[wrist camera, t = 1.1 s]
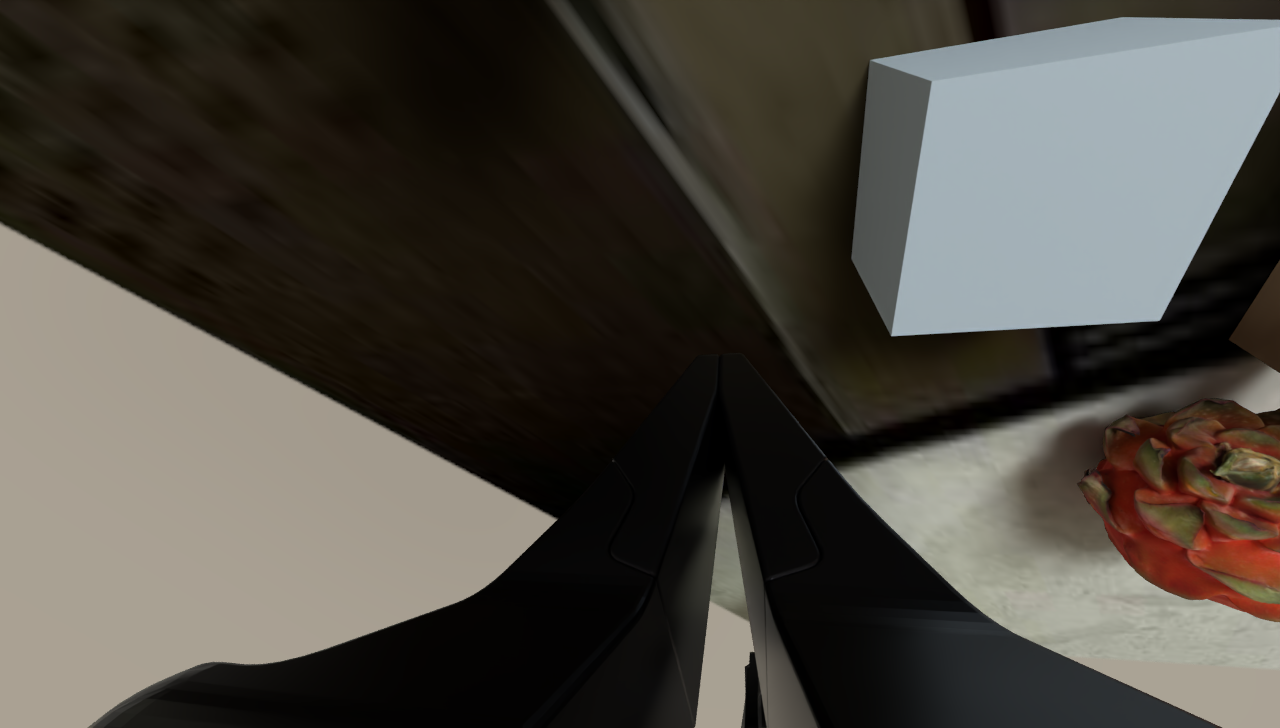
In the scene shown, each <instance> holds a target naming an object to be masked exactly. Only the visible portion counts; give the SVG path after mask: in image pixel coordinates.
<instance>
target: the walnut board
mask: <svg viewBox="0 0 1280 728" xmlns="http://www.w3.org/2000/svg"><path fill="white" fill-rule="evenodd" d="M1229 340H1230V341H1231V342H1233V343H1235V344H1236V345H1238V346H1239V347H1241V348H1242V349H1244V350H1245V351H1247V352H1248V353H1250V354H1251V355H1253V356H1255V357H1256V358H1258V359H1259V360H1261V361H1262V362H1264V363H1265V364H1267V365H1268V366H1270V367H1271V368H1273V369H1274V370H1276V371H1278V372H1279V373H1280V260H1279V262H1278V264H1277V265H1276V267H1275V268H1274V270H1273V271H1272V273H1271V274H1270V276H1269V278H1268V279H1267V281H1266V282H1265V284H1264V285H1263V287H1262V289H1261V290H1260V292H1259V293H1258V295H1257V296H1256V298H1255V299H1254V301H1253V303H1252V304H1251V306H1250V307H1249V309H1248V310H1247V312H1246V314H1245V315H1244V317H1243V318H1242V320H1241V321H1240V323H1239V325H1238V326H1237V328H1236V329H1235V331H1234V332H1233V334H1232V335H1231V337H1230V339H1229Z"/></svg>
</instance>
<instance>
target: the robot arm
mask: <svg viewBox="0 0 1280 728" xmlns="http://www.w3.org/2000/svg"><path fill="white" fill-rule="evenodd" d="M724 465H725V469H726V477H727V484H728V490H729V496H730V502H731V509H732V515H733V521H734V527H735V533H736V540H737V546H738V552H739V558H740V564H741V571H742V577H743V583H744V589H745V595H746V602H747V608H748V614H749V620H750V626H751V633H752V638H753V645H754V651H755V652H750V661H749V662H750V663H749V665H747V666H745V687H746V694H745V695H746V696H745V706H744V713H743V719H742V726H741V728H1222V727H1220V726H1217V725H1215V724H1213V723H1211V722H1209V721H1206V720H1204V719H1202V718H1200V717H1197V716H1195V715H1193V714H1191V713H1189V712H1186V711H1184V710H1182V709H1180V708H1178V707H1175V706H1173V705H1171V704H1169V703H1167V702H1164V701H1162V700H1160V699H1158V698H1155V697H1153V696H1151V695H1149V694H1147V693H1144V692H1142V691H1140V690H1138V689H1136V688H1133V687H1131V686H1129V685H1127V684H1124V683H1122V682H1120V681H1118V680H1116V679H1113V678H1111V677H1109V676H1106V675H1104V674H1102V673H1100V672H1098V671H1096V670H1094V669H1091V668H1089V667H1087V666H1085V665H1083V664H1080V663H1078V662H1075V661H1074V660H1071V659H1069V658H1067V657H1065V656H1063V655H1060V654H1058V653H1056V652H1054V651H1052V650H1049V649H1047V648H1045V647H1043V646H1041V645H1038V644H1036V643H1034V642H1032V641H1029V640H1027V639H1025V638H1023V637H1021V636H1019V635H1017V634H1015V633H1013V632H1011V631H1009V630H1008V629H1006V628H1004V627H1003V626H1001V625H999V624H998V623H996V622H995V621H993V620H992V619H991V618H989V617H988V616H986V615H985V614H983V613H982V612H981V611H980V610H978V609H977V608H976V607H975V606H973V605H972V604H971V603H970V602H969V601H967V600H966V599H965V598H964V597H963V596H962V595H961V594H960V593H959V592H958V591H956V590H955V589H954V588H953V587H952V586H951V585H950V584H949V583H948V582H947V581H946V580H945V579H944V578H943V577H942V576H941V575H940V574H939V573H938V572H937V571H936V570H935V569H934V568H932V567H931V566H930V565H929V564H928V563H927V562H926V561H925V560H924V559H923V558H922V557H921V556H920V555H919V554H918V553H917V552H916V551H915V550H914V549H913V548H912V547H911V546H910V545H909V544H907V543H906V542H905V541H904V540H903V539H902V538H901V537H900V536H899V535H898V534H897V533H896V532H895V531H894V530H893V529H892V528H891V527H890V526H889V525H888V524H887V523H886V522H885V521H884V520H883V519H882V518H881V517H880V516H879V515H878V514H877V513H876V512H875V511H874V510H873V509H872V508H871V507H870V506H869V505H868V504H867V503H866V502H865V501H864V500H863V499H862V498H861V497H860V496H859V495H858V494H857V492H856V491H855V490H854V489H853V488H852V487H851V486H850V484H849V483H848V482H847V481H846V480H845V479H844V478H843V476H842V475H841V474H840V473H839V471H838V470H837V469H836V468H835V466H834V465H833V464H832V463H831V461H829V460H827V457H826V456H825V454H824V453H823V452H822V451H821V450H820V448H819V447H818V446H817V445H816V443H815V442H814V441H813V440H812V438H811V437H810V436H809V435H808V434H807V432H806V431H805V430H804V429H803V427H802V426H801V425H800V424H799V422H798V421H797V420H796V419H795V418H794V416H793V415H792V414H791V413H790V411H789V410H788V409H787V408H786V406H785V405H784V404H783V403H782V402H781V400H780V399H779V398H778V397H777V395H776V394H775V393H774V392H773V390H772V389H771V388H770V387H769V386H768V384H767V383H766V382H765V381H764V379H763V378H762V377H761V376H760V375H759V373H758V372H757V371H756V370H755V368H754V367H753V366H752V365H751V363H750V362H749V361H748V360H747V359H746V357H745V356H744V355H743V354H741V353H731V354H722V355H721V356H720V357H719V355H717V354H712V355H699V356H697V357H696V358H695V359H694V361H693V362H692V363H691V364H690V366H689V367H688V368H687V369H686V370H685V372H684V373H683V374H682V375H681V377H680V378H679V379H678V380H677V381H676V383H675V384H674V385H673V386H672V387H671V389H670V390H669V391H668V392H667V394H666V395H665V396H664V397H663V398H662V400H661V401H660V402H659V403H658V405H657V406H656V407H655V408H654V409H653V411H652V412H651V413H650V414H649V415H648V417H647V418H646V419H645V420H644V422H643V423H642V424H641V425H640V426H639V428H638V429H637V430H636V431H635V433H634V434H633V435H632V436H631V437H630V439H629V440H628V441H627V442H626V444H625V445H624V446H623V447H622V448H621V450H620V451H619V452H618V453H617V454H616V456H615V457H614V458H613V462H612V461H611V462H610V463H609V464H608V465H607V466H606V468H605V469H604V470H603V471H602V472H601V474H600V475H599V476H598V477H597V478H596V479H595V481H594V482H593V483H592V484H591V485H590V486H589V487H588V489H587V490H586V491H585V492H584V493H583V494H582V495H581V496H580V498H579V499H578V500H577V501H576V502H575V503H574V504H573V505H572V506H571V507H570V508H569V509H568V510H567V511H566V512H565V513H564V514H563V515H562V516H561V517H560V518H559V519H558V520H557V521H556V522H555V523H554V524H553V525H552V526H551V527H550V528H549V529H548V530H547V531H546V532H544V533H543V535H541V537H539V538H538V539H537V540H536V541H535V542H534V543H533V544H532V545H531V546H530V547H529V548H528V549H527V550H526V551H525V552H524V553H523V554H522V555H521V556H520V557H519V558H518V559H517V560H516V561H515V562H514V563H513V564H511V566H509V567H508V569H506V570H505V571H504V572H503V573H502V574H501V575H500V576H499V577H497V578H496V579H495V580H494V581H493V582H491V583H490V584H489V585H487V586H486V587H485V588H483V589H482V590H480V591H479V592H477V593H475V594H474V595H472V596H470V597H468V598H466V599H464V600H462V601H459V602H457V603H455V604H452V605H449V606H446V607H443V608H440V609H437V610H435V611H432V612H429V613H426V614H424V615H420V616H418V617H415V618H412V619H409V620H407V621H404V622H401V623H398V624H395V625H392V626H389V627H387V628H384V629H381V630H378V631H375V632H373V633H370V634H367V635H364V636H361V637H358V638H356V639H353V640H350V641H347V642H345V643H342V644H338V645H336V646H333V647H330V648H327V649H324V650H321V651H318V652H315V653H311V654H308V655H305V656H302V657H298V658H293V659H289V660H285V661H281V662H275V663H268V664H256V665H255V664H251V665H248V664H246V665H245V664H236V663H226V662H210V663H204V664H201V665H197V666H195V667H193V668H190V669H188V670H185V671H183V672H180V673H178V674H175V675H173V676H171V677H169V678H166V679H164V680H162V681H159V682H157V683H155V684H153V685H151V686H149V687H147V688H145V689H143V690H141V691H140V692H138V693H136V694H134V695H133V696H131V697H130V698H128V699H126V700H124V701H123V702H121V703H120V704H118V705H117V706H115V707H114V708H113V709H111V710H110V711H109V712H107V713H106V714H104V715H103V716H102V717H101V718H100V719H98V720H97V721H96V722H94V723H93V724H92V725H90V726H89V727H88V728H694V727H695V724H696V715H697V706H698V697H699V688H700V680H701V671H702V663H703V654H704V645H705V636H706V627H707V619H708V610H709V601H710V593H711V584H712V575H713V566H714V558H715V549H716V540H717V532H718V523H719V514H720V505H721V497H722V488H723V479H724Z"/></svg>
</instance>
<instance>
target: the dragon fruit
mask: <svg viewBox="0 0 1280 728" xmlns="http://www.w3.org/2000/svg"><path fill="white" fill-rule="evenodd" d="M1103 449H1104V454H1105V457H1106V459H1103V460H1101V461H1100V462H1099V464H1098V466H1097V468H1096V469H1093V470H1091V474H1089V469H1088V470H1086V471H1085V475H1084V478H1083V479H1081V482H1079V483H1078V484H1077V485H1078V486H1079V488H1080V489H1081V491H1082V492H1083V494H1084V497H1085V498H1086V500H1087V502H1088V503H1089V504H1091V506H1092V507H1093V508H1094V510H1095V511H1096V512H1097V513H1098V514H1099V515H1100V516H1101V517H1102V519H1103V521H1104V525H1105V529H1106V531H1107V533H1108V537H1109V539H1110V540H1111V542H1112V543H1113V544H1114V546H1115V547H1116V548H1117V550H1118V551H1119V552H1120V553H1121V555H1122V556H1123V557H1124V559H1125V560H1126V561H1127V562H1128V564H1129V565H1130V566H1131V567H1132V568H1134V569H1135V571H1136V572H1137V573H1138V574H1139V575H1140V576H1142V577H1143V578H1144V579H1145V580H1147V581H1148V582H1150V583H1152V584H1154V585H1155V586H1157V587H1159V588H1161V589H1163V590H1165V591H1167V592H1169V593H1172V594H1174V595H1177V596H1180V597H1182V598H1185V599H1188V600H1204V599H1209V600H1212V601H1215V602H1218V603H1221V604H1223V605H1226V606H1229V607H1231V608H1234V609H1237V610H1240V611H1243V612H1247V613H1249V614H1251V615H1253V616H1255V617H1258V618H1261V619H1264V620H1269V621H1274V622H1280V408H1279V409H1278V410H1275V411H1269V412H1262V413H1258V414H1255V413H1253V412H1251V411H1249V410H1248V409H1246V408H1244V407H1242V406H1240V405H1239V404H1237V403H1236V402H1235V401H1232V400H1223V399H1201V400H1199V401H1198V402H1196V403H1193V404H1191V405H1189V406H1187V407H1185V408H1183V409H1181V410H1179V411H1177V412H1176V413H1175V412H1174V411H1173V412H1168V413H1163V414H1159V415H1156V416H1152V417H1145V418H1142V419H1136V418H1134V417H1131V416H1129V415H1125V416H1124V417H1123V418H1121V419H1118V420H1116V421H1115V422H1113V423H1112V424H1110V426H1109V427H1107V428H1106V429H1105V432H1104V437H1103Z"/></svg>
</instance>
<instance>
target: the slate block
mask: <svg viewBox="0 0 1280 728" xmlns="http://www.w3.org/2000/svg"><path fill="white" fill-rule="evenodd" d="M1279 93H1280V20H1249V19H1190V18H1131V17H1122V18H1116V19H1110V20H1104V21H1098V22H1092V23H1086V24H1080V25H1075V26H1069V27H1063V28H1057V29H1051V30H1045V31H1039V32H1033V33H1027V34H1021V35H1016V36H1010V37H1004V38H998V39H992V40H986V41H980V42H974V43H968V44H963V45H957V46H951V47H945V48H939V49H933V50H927V51H921V52H915V53H909V54H904V55H898V56H892V57H886V58H880V59H874V60H870V64H869V75H868V85H867V96H866V107H865V118H864V128H863V139H862V150H861V161H860V171H859V182H858V193H857V203H856V214H855V225H854V236H853V246H852V257H851V259H852V261H853V263H854V265H855V267H856V269H857V271H858V273H859V275H860V277H861V279H862V280H863V282H864V284H865V286H866V288H867V290H868V292H869V294H870V296H871V298H872V300H873V302H874V304H875V306H876V308H877V310H878V312H879V313H880V315H881V317H882V319H883V321H884V323H885V325H886V327H887V329H888V331H889V333H890V335H891V336H904V335H922V334H939V333H956V332H973V331H990V330H1008V329H1025V328H1042V327H1059V326H1077V325H1094V324H1111V323H1128V322H1146V321H1160V319H1161V317H1162V315H1163V313H1164V311H1165V310H1166V308H1167V306H1168V304H1169V302H1170V300H1171V298H1172V296H1173V294H1174V292H1175V291H1176V289H1177V287H1178V285H1179V283H1180V281H1181V279H1182V277H1183V275H1184V273H1185V272H1186V270H1187V268H1188V266H1189V264H1190V262H1191V260H1192V258H1193V256H1194V254H1195V253H1196V251H1197V249H1198V247H1199V245H1200V243H1201V241H1202V239H1203V237H1204V235H1205V234H1206V232H1207V230H1208V228H1209V226H1210V224H1211V222H1212V220H1213V218H1214V216H1215V214H1216V213H1217V211H1218V209H1219V207H1220V205H1221V203H1222V201H1223V199H1224V197H1225V195H1226V194H1227V192H1228V190H1229V188H1230V186H1231V184H1232V182H1233V180H1234V178H1235V176H1236V175H1237V173H1238V171H1239V169H1240V167H1241V165H1242V163H1243V161H1244V159H1245V157H1246V156H1247V154H1248V152H1249V150H1250V148H1251V146H1252V144H1253V142H1254V140H1255V138H1256V136H1257V135H1258V133H1259V131H1260V129H1261V127H1262V125H1263V123H1264V121H1265V119H1266V117H1267V116H1268V114H1269V112H1270V110H1271V108H1272V106H1273V104H1274V102H1275V100H1276V98H1277V97H1278V95H1279Z"/></svg>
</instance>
